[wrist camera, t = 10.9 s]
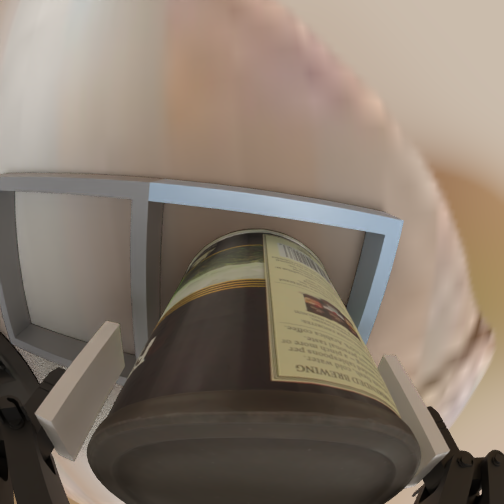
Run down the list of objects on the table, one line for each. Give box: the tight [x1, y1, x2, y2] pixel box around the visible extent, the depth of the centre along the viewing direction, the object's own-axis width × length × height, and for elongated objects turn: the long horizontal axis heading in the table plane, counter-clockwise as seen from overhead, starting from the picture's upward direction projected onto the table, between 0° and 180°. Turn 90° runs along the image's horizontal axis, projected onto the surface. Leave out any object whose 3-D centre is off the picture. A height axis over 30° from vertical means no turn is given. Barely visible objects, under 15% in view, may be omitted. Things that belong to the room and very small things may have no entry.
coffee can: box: [87, 229, 422, 504], centre depth 13 cm, size 10×10×14 cm
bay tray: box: [0, 173, 404, 386], centre depth 18 cm, size 29×15×3 cm, turn 82°
